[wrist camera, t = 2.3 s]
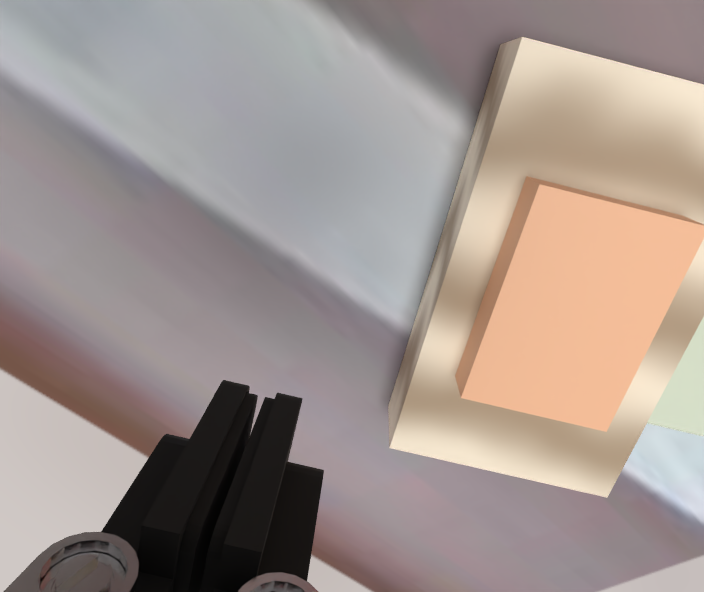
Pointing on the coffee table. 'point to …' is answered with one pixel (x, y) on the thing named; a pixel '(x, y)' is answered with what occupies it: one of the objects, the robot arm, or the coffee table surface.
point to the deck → (489, 232)
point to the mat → (684, 391)
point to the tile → (574, 303)
